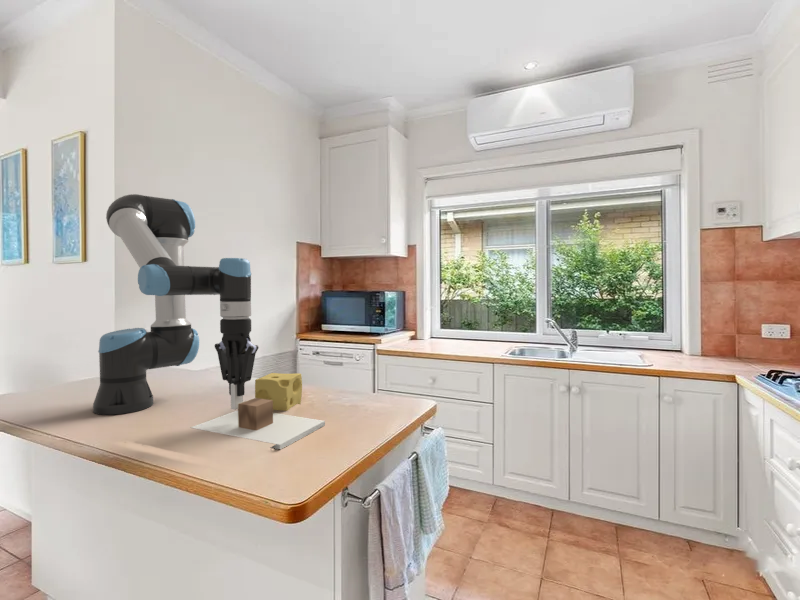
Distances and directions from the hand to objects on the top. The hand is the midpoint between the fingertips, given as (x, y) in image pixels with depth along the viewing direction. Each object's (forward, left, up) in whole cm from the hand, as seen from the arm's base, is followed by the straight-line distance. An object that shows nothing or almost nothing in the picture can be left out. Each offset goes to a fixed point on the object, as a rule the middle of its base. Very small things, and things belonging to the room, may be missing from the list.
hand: (237, 407), depth 109 cm
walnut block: (+3, 0, -1) cm, 3 cm away
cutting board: (+6, +1, -5) cm, 8 cm away
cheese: (-1, +17, -5) cm, 18 cm away
